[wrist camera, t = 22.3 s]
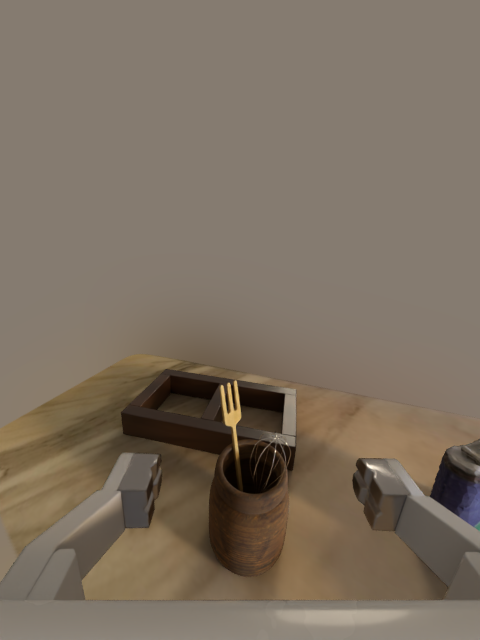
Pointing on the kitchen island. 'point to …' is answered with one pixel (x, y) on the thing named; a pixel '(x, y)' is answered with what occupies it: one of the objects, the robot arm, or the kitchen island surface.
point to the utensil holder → (248, 499)
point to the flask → (460, 482)
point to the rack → (209, 413)
